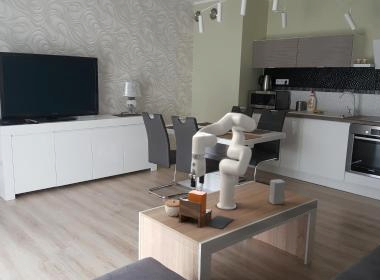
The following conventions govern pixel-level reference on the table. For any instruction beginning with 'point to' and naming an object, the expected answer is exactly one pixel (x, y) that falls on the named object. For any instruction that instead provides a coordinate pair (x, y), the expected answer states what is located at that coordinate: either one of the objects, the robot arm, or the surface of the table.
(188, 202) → the wooden toy chair
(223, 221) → the mat
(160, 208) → the table surface
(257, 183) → the table surface
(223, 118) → the robot arm
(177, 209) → the trinket box
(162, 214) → the table surface
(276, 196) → the cosmetic box
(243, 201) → the table surface
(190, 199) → the block
